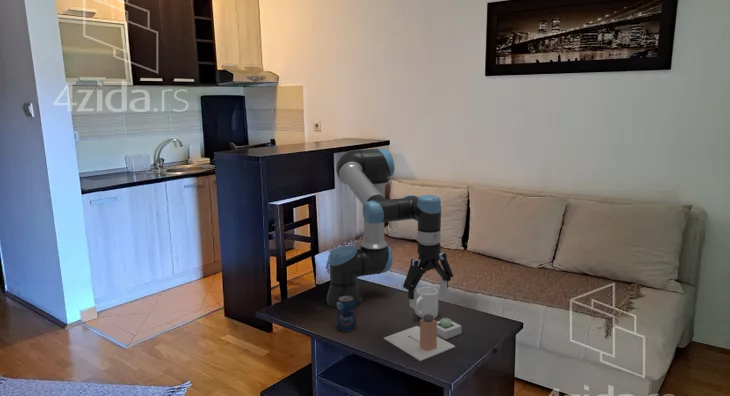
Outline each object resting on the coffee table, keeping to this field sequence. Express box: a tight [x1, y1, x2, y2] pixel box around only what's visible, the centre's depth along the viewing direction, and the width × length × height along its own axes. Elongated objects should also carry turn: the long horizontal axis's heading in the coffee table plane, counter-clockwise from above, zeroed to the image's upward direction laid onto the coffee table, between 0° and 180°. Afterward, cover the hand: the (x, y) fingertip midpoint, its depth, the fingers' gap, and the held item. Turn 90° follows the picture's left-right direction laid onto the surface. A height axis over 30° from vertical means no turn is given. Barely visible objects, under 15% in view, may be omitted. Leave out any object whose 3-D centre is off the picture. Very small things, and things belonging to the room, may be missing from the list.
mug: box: [414, 286, 439, 320], centre depth 198 cm, size 12×8×10 cm
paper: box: [383, 325, 456, 362], centre depth 178 cm, size 20×16×1 cm
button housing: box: [436, 320, 462, 341], centre depth 185 cm, size 8×8×3 cm
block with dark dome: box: [419, 314, 438, 351], centre depth 173 cm, size 4×4×11 cm
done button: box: [439, 317, 452, 329], centre depth 184 cm, size 4×4×3 cm
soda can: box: [336, 295, 357, 332], centre depth 189 cm, size 7×7×12 cm
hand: (428, 302), depth 171 cm, fingers open, 13 cm apart
